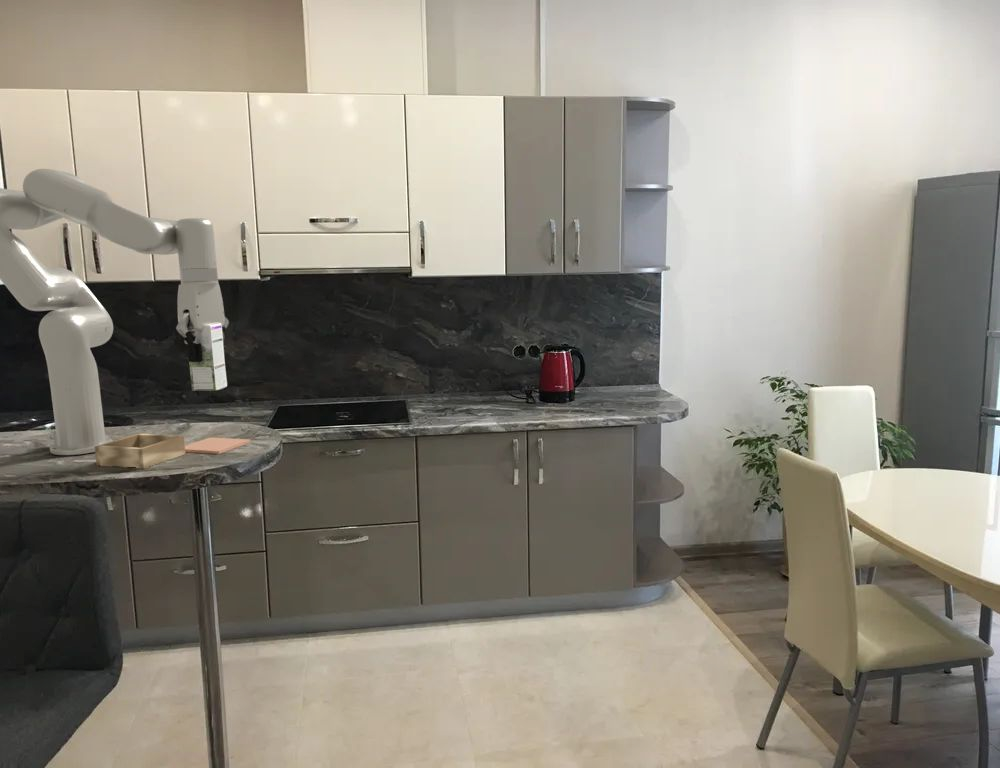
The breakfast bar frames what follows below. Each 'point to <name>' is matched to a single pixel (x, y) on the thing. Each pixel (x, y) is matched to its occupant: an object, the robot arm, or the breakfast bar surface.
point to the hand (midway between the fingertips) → (206, 359)
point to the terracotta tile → (215, 445)
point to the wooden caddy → (140, 450)
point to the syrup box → (209, 360)
